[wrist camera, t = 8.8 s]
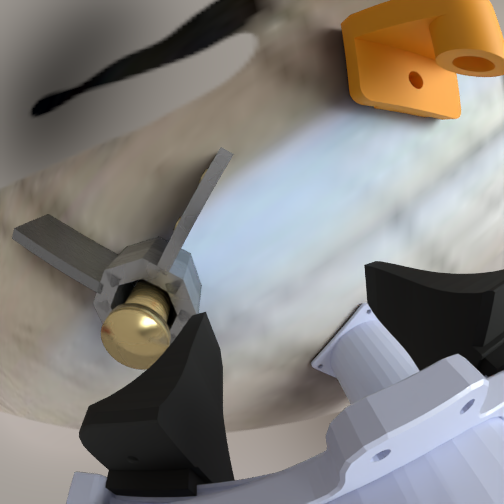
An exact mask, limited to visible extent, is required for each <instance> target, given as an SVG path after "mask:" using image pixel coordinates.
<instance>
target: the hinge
mask: <svg viewBox="0 0 504 504" xmlns="http://www.w3.org/2000/svg"><path fill="white" fill-rule="evenodd" d="M233 155H234V154H232V153H231V152H229V151H227V150H225V149H223V148H222V147H221V148H220V149H219V151H218V153H217V155H216V156H215V158H214V160H213V161H212V163H211V165H210V166H209V168H208V169H206V170H205V172H204V173H203V175H202V177H201V179H200V181H199V183H200V184H199V186H198V188H197V189H196V191H195V193H194V195H193V197H192V198H191V200H190V202H189V204H188V206H187V208H186V210H185V211H184V213H183V215H182V217H180V218H179V219H178V221H177V223H176V225H175V227H174V229H173V230H174V233H173V234H172V236H171V238H170V240H169V242H168V241H166V240H164V239H162V238H160V237H156V238H153V239H150V240H146V241H143V242H140V243H137V244H134V245H131V246H128V247H126V248H125V249H124V250H123V251H122V252H121V253H120V254H119V255H118V254H116V253H114V252H112V251H111V250H109V249H107V248H105V247H103V246H102V245H100V244H98V243H96V242H95V241H93V240H91V239H89V238H88V237H86V236H84V235H83V234H81V233H79V232H77V231H76V230H74V229H72V228H71V227H69V226H67V225H66V224H64V223H62V222H61V221H59V220H57V219H56V218H54V217H53V216H51V215H49V214H47V215H45V216H42V217H40V218H37V219H35V220H32V221H30V222H28V223H25V224H23V225H21V226H18V227H16V228H14V232H13V236H12V239H13V240H15V241H16V242H18V243H19V244H21V245H22V246H23V247H25V248H26V249H28V250H29V251H31V252H32V253H34V254H35V255H37V256H38V257H40V258H41V259H43V260H44V261H46V262H47V263H49V264H50V265H52V266H53V267H55V268H57V269H58V270H60V271H61V272H63V273H65V274H66V275H68V276H69V277H71V278H73V279H74V280H76V281H78V282H79V283H81V284H83V285H85V286H86V287H88V288H90V289H91V290H93V291H95V292H97V293H96V296H95V299H94V302H93V305H94V307H95V309H96V311H97V313H98V315H99V317H100V319H101V321H102V323H104V322H105V320H106V318H107V317H108V315H109V313H110V312H111V311H112V310H113V309H114V308H115V307H117V306H118V305H121V304H125V302H126V300H127V299H128V297H129V295H130V293H131V292H132V290H133V288H134V286H133V283H132V282H133V281H136V280H140V279H144V280H146V281H148V282H150V283H152V284H154V285H156V286H158V287H160V288H162V289H163V290H165V291H167V292H168V294H169V296H170V298H171V301H172V305H171V308H170V312H169V316H168V319H167V325H168V327H169V330H170V334H171V340H170V344H171V343H172V342H173V341H174V339H175V338H176V337H177V335H178V334H179V333H180V331H181V330H182V328H183V327H184V326H185V324H186V323H187V321H188V320H189V319H190V317H191V316H192V315H195V314H199V304H200V295H201V286H202V285H201V283H200V280H199V277H198V274H197V271H196V268H195V265H194V263H193V260H192V257H191V253H189V252H187V251H185V250H183V249H181V247H182V245H183V244H184V242H185V240H186V238H187V236H188V234H189V232H190V230H191V228H192V227H193V225H194V223H195V221H196V219H197V217H198V216H199V214H200V212H201V210H202V208H203V207H204V205H205V203H206V201H207V199H208V198H209V196H210V194H211V192H212V191H213V189H214V187H215V185H216V184H217V182H218V180H219V178H220V177H221V175H222V173H223V171H224V170H225V168H226V166H227V165H228V163H229V161H230V160H231V158H232V156H233ZM169 346H170V345H169Z"/></svg>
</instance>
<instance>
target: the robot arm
mask: <svg viewBox="0 0 504 504" xmlns="http://www.w3.org/2000/svg"><path fill="white" fill-rule="evenodd" d="M364 266H365V277H366V289H367V303H363V304H362V305H361V306H360V307H359V308H358V309H357V311H356V312H355V313H354V314H353V315H352V317H351V318H350V319H349V320H348V321H347V323H346V324H345V325H344V326H343V327H342V328H341V330H340V331H339V332H338V333H337V334H336V335H335V336H334V338H333V339H332V340H331V341H330V342H329V343H328V344H327V345H326V347H325V348H324V349H323V350H322V351H321V352H320V353H319V354H318V355H317V356H316V357H315V358H314V360H313V361H312V362H311V365H312V367H313V368H315V369H317V370H319V371H321V372H324V373H326V374H328V375H330V376H333V377H335V378H337V379H338V381H339V383H340V385H341V387H342V389H343V391H344V393H345V394H346V396H347V398H348V400H349V402H350V404H351V405H349V406H347V407H346V408H345V409H344V410H343V411H342V412H341V413H340V414H339V415H338V416H337V417H336V418H335V419H333V420H332V422H331V423H330V425H329V428H328V431H327V434H326V443H327V450H326V451H324V452H323V453H320V454H318V455H316V456H314V457H312V458H310V459H308V460H305V461H303V462H301V463H299V464H296V465H294V466H292V467H289V468H287V469H285V470H282V471H280V472H276V473H272V474H267V475H263V476H258V477H252V478H247V479H241V480H234V476H233V471H232V466H231V461H230V456H229V451H228V445H227V439H226V432H225V425H224V418H223V366H222V358H221V351H220V347H219V345H218V342H217V340H216V337H215V335H214V332H213V330H212V327H211V325H210V322H209V319H208V317H207V314H206V312H203V313H199V314H195V315H192V316H191V317H190V319H189V320H188V321H187V323H186V324H185V326H184V327H183V328H182V330H181V331H180V333H179V334H178V335H177V337H176V338H175V339H174V341H173V342H172V343H171V344H170V346H169V347H168V348H167V349H166V351H165V352H164V353H163V354H162V355H161V356H160V357H159V359H158V360H157V361H156V362H155V363H154V364H153V365H151V366H150V367H149V368H148V369H147V370H146V371H145V372H144V373H142V374H141V375H140V376H139V377H137V378H136V379H135V380H134V381H132V382H131V383H130V384H128V385H127V386H125V387H124V388H122V389H121V390H119V391H117V392H116V393H114V394H112V395H111V396H109V397H107V398H105V399H103V400H101V401H99V402H97V403H95V404H92V405H90V406H89V407H88V410H87V412H86V415H85V418H84V420H83V423H82V426H81V428H80V431H79V438H80V440H81V442H82V444H83V446H84V447H85V448H86V449H87V450H88V451H89V452H90V453H91V454H92V455H93V456H94V457H95V458H96V459H97V460H98V461H99V462H100V463H102V464H103V465H104V466H105V467H106V468H107V469H108V470H109V472H108V477H105V476H103V475H100V474H94V473H85V472H74V476H73V480H72V483H71V486H70V490H69V494H68V498H67V502H66V504H504V270H499V271H494V272H486V273H476V274H450V273H438V272H431V271H425V270H419V269H414V268H409V267H405V266H400V265H396V264H391V263H386V262H380V261H375V262H372V263H369V264H366V265H364ZM369 309H370V310H369ZM367 310H369V311H368V312H367ZM320 364H321V365H320ZM319 365H320V366H319Z"/></svg>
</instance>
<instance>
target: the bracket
mask: <svg viewBox="0 0 504 504" xmlns="http://www.w3.org/2000/svg"><path fill="white" fill-rule="evenodd" d="M341 28H342V34H343V41H344V48H345V56H346V64H347V73H348V82H349V92H350V95H351V97H352V99H353V100H354V101H355V102H356V103H358V104H361V105H367V106H374V108H375V109H382V110H389V111H395V112H400V113H406V114H411V115H416V116H421V117H433V118H438V119H442V120H443V119H457V118H459V117H460V115H461V105H460V96H459V88H458V81H457V75H456V73H457V74H462V75H467V76H476V77H495V76H501V75H504V39H503V36H502V32H501V29H500V26H499V23H498V20H497V17H496V15H495V12H494V9H493V6H492V4H491V3H490V1H489V0H390V1H387V2H384V3H381V4H378V5H375V6H373V7H370V8H367V9H364V10H362V11H359V12H357V13H354V14H352V15H350V16H349V17H348V18H347V19H345V20H344V21H343V22H342V23H341Z"/></svg>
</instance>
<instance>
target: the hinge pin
mask: <svg viewBox="0 0 504 504" xmlns="http://www.w3.org/2000/svg"><path fill="white" fill-rule="evenodd" d="M171 305H172V301H171V298H170V296H169V294H168V292H167V291H165V290H163V289H162V288H160V287H158V286H156V285H154V284H152V283H150V282H148V281H146V280H144V279H140V280H138V282H137V283H136V285H135V287H134V288H133V290H132V292H131V293H130V295H129V297H128V299H127V300H126V302H125V304H121V305H118V306H117V307H115V308H114V309H113V310H112V311H111V312H110V313H109V315H108V317H107V318H106V320H105V322H104V323H103V325H102V329H101V339H102V342H103V345H104V347H105V348H106V350H107V351H108V353H109V354H110V355H111V356H112V357H113V358H114V359H115V360H117V361H118V362H120V363H121V364H123V365H125V366H128V367H131V368H134V369H148V368H149V367H150V366H151V365H153V364H154V363H155V362H156V361H157V360H158V359H159V357H160V356H161V355H162V354H163V353H164V352H165V351H166V349H167V348H168V347H169V345H170V340H171V334H170V330H169V327H168V325H167V319H168V316H169V312H170V308H171Z"/></svg>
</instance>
